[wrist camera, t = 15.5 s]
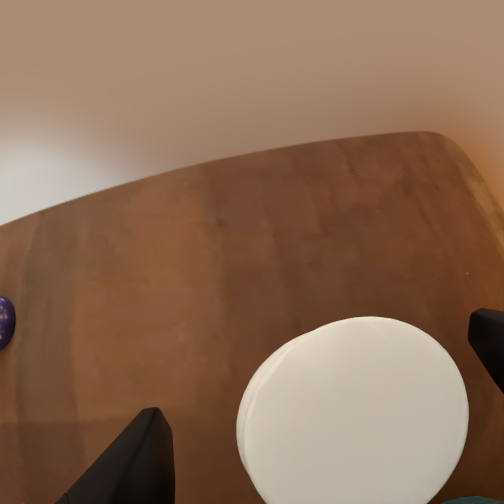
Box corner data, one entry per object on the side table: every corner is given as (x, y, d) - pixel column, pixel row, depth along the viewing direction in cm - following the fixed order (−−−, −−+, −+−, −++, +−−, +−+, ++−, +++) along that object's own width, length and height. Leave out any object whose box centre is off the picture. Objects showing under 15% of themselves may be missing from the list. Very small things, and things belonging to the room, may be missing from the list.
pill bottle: (234, 395, 14) (159, 376, 6) (335, 338, 15) (399, 242, 6) (290, 488, 12) (297, 595, 3) (391, 428, 13) (520, 438, 4)
